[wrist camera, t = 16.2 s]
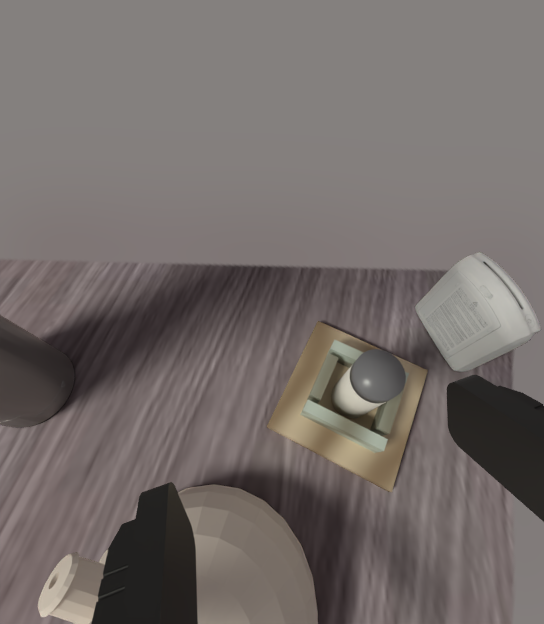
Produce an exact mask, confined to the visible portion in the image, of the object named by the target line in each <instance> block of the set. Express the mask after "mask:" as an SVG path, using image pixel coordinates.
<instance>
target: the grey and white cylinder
mask: <svg viewBox="0 0 544 624" xmlns="http://www.w3.org/2000/svg"><path fill="white" fill-rule="evenodd" d="M405 382H406V375H405V370H404V368H403V366H402V364H401V362H400V361H399V360H398V359H397V358H396V357H395V356H394V355H392V354H391V353H389V352H387V351H384V350H380V349H372V350H368V351H366V352H364V353H363V354H361V355H360V356H359V357H358V359H357V360H356V361H355V362H354V363H353V364H352V366H351V367H350V368H349V369H348V370H347V371H346V373H345V374H344V375H343V376H342V377H341V379H340V380H339V381H338V382H337V383H336V384H335V386H334V387H333V389H332V393H331V400H332V404H333V406H334V408H335V409H336V410H337V411H338V412H339V413H340V414H341V415H343V416H345V417H347V418H358V417H361V416H363V415H364V414H366V413H368V412H370V411H371V410H373V409H375V408H377V407H378V406H380V405H382V404H384V403H385V402H387V401H389V400H391V399H392V398H394V397H396V396H397V395H399V394H400V393H401V392H402V390H403V388H404V386H405Z"/></svg>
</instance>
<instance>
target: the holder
mask: <svg viewBox="0 0 544 624" xmlns="http://www.w3.org/2000/svg"><path fill="white" fill-rule="evenodd" d="M372 349H379V348H377V347H375V346H373V345H370V344H368V343H366V342H364V341H361V340H359V339H357V338H355V337H353V336H350V335H348V334H346V333H344V332H342V331H339V330H337V329H335V328H333V327H330V326H328V325H326V324H324V323H322V322H319V321H318V322H317V324H316V326H315V328H314V330H313V332H312V334H311V336H310V338H309V340H308V343H307V345H306V347H305V349H304V351H303V353H302V355H301V357H300V359H299V361H298V363H297V365H296V367H295V370H294V372H293V374H292V376H291V378H290V380H289V382H288V384H287V386H286V388H285V390H284V392H283V394H282V396H281V399H280V401H279V403H278V405H277V407H276V409H275V411H274V413H273V415H272V417H271V419H270V421H269V423H268V425H267V428H269V429H271V430H273V431H275V432H277V433H279V434H280V435H282V436H284V437H286V438H288V439H290V440H292V441H294V442H296V443H298V444H299V445H301V446H303V447H305V448H307V449H309V450H311V451H313V452H315V453H316V454H318V455H320V456H322V457H324V458H326V459H328V460H330V461H332V462H333V463H335V464H337V465H339V466H341V467H343V468H345V469H347V470H349V471H350V472H352V473H354V474H356V475H358V476H360V477H362V478H364V479H366V480H367V481H369V482H371V483H373V484H375V485H377V486H379V487H381V488H383V489H384V490H386V491H388V492H392V489H393V486H394V483H395V479H396V476H397V473H398V469H399V466H400V462H401V459H402V456H403V452H404V449H405V446H406V442H407V439H408V436H409V432H410V429H411V425H412V422H413V419H414V415H415V412H416V409H417V405H418V402H419V399H420V395H421V392H422V388H423V385H424V382H425V378H426V375H427V372H428V370H426V369H424V368H421V367H419V366H417V365H415V364H412V363H410V362H408V361H406V360H404V359H401V358H399V357H397V356H395V355H394V356H395V357H396V358H397V359H398V360H399V361H400V362H401V364H402V366H403V368H404V370H405V375H406V382H405V386H404V388H403V390H402V392H401V393H400V394H399V395H397V396H396V397H394V398H392V399H391V400H389V401H387V402H385V403H384V404H382V405H380V406H378V407H377V408H375V409H373V410H371V411H370V412H368V413H366V414H364V415H363V416H361V417H358V418H347V417H345V416H343V415H341V414H340V413H339V412H338V411H337V410H336V409H335V408H334V406H333V404H332V400H331V393H332V389H333V387H334V386H335V384H336V383H337V382H338V381H339V380H340V379H341V377H342V376H343V375H344V374H345V373H346V371H347V370H348V369H349V368H350V367H351V366H352V364H353V363H354V362H355V361H356V360H357V359H358V357H359V356H360V355H361V354H363V353H364V352H366V351H368V350H372ZM380 350H381V349H380ZM392 355H393V354H392Z"/></svg>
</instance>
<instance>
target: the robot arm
mask: <svg viewBox="0 0 544 624" xmlns="http://www.w3.org/2000/svg"><path fill="white" fill-rule="evenodd" d="M73 384H74V368H73V365H72V363H71V361H70V359H69V358H68V357H67V356H66V355H65V354H64V353H62V352H61V351H59V350H57V349H56V348H54V347H52V346H51V345H49V344H47V343H46V342H44V341H43V340H41V339H39V338H38V337H36V336H34V335H33V334H31V333H29V332H28V331H26V330H24V329H23V328H21V327H19V326H18V325H16V324H14V323H13V322H11V321H9V320H8V319H6V318H4V317H3V316H1V315H0V425H2V426H8V427H15V428H24V427H30V426H34V425H36V424H39V423H41V422H43V421H45V420H47V419H48V418H50V417H51V416H52V415H54V414H55V413H56V412H57V411H58V410H59V409H60V408H61V407H62V406H63V405H64V404H65V402H66V400H67V399H68V397H69V396H70V393H71V391H72V388H73ZM447 412H448V428H449V432H450V434H451V436H452V438H453V440H454V441H455V443H456V444H457V445H458V446H459V447H460V448H461V449H462V450H463V451H464V452H465V453H467V454H468V455H469V456H470V457H471V458H472V459H473V460H474V461H476V462H477V463H478V464H479V465H480V466H481V467H482V468H484V469H485V470H486V471H487V472H488V473H489V474H490V475H491V476H493V477H494V478H495V479H496V480H497V481H498V482H499V483H501V484H502V485H503V486H504V487H505V488H506V489H507V490H508V491H510V492H511V493H512V494H513V495H514V496H515V497H516V498H517V499H519V500H520V501H521V502H522V503H523V504H524V505H525V506H527V507H528V508H529V509H530V510H531V511H532V512H533V513H534V514H536V515H537V516H538V517H539V518H540V519H541V520H543V521H544V406H543V404H541V403H540V402H538V401H536V400H534V399H532V398H531V397H529V396H527V395H525V394H524V393H521V392H517V391H515V390H511V389H508V388H505V387H502V386H498V387H497V386H495V385H494V384H492V383H490V382H488V381H487V380H485V379H483V378H482V377H480V376H477V375H472V376H469V377H466V378H463V379H461V380H458V381H455V382H452V383H450V384H449V385H448V386H447ZM91 624H198V617H197V580H196V548H195V539H194V534H193V530H192V526H191V523H190V521H189V518H188V516H187V514H186V511H185V509H184V506H183V504H182V502H181V499H180V497H179V495H178V492H177V490H176V488H175V486H174V484H173V483H172V482H170V483H167V484H165V485H162V486H159V487H156V488H153V489H151V490H148V491H145V492H142V493H141V495H140V497H139V502H138V508H137V515H136V519H135V520H132V521H129V522H127V523H124V524H122V525H121V527H120V529H119V531H118V533H117V534H116V536H115V538H114V540H113V541H112V543H111V545H110V547H109V548H108V553H107V557H106V562H105V566H104V570H103V579H101V584H100V588H99V592H98V602H96V606H95V610H94V614H93V619H92V623H91Z"/></svg>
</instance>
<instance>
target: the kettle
mask: <svg viewBox="0 0 544 624" xmlns="http://www.w3.org/2000/svg"><path fill="white" fill-rule="evenodd" d="M178 495H179V497H180V499H181V502H182V504H183V506H184V509H185V511H186V514H187V516H188V518H189V521H190V523H191V526H192V530H193V534H194V539H195V548H196V580H197V617H198V624H318V611H317V604H316V596H315V589H314V582H313V576H312V573H311V571H310V568H309V565H308V562H307V560H306V557H305V554H304V551H303V548H302V546H301V544H300V542H299V541H298V539H297V538H296V536H295V535H294V533H293V532H292V530H291V529H290V527H289V525H288V524H287V522H286V521H285V519H284V518H283V517H281V516H280V515H279V514H278V513H277V512H276V511H275V510H274V509H273V508H272V507H270V506H269V505H268V504H267V503H266V502H265V501H264V500H262V499H260V498H258V497H256V496H254V495H252V494H250V493H248V492H246V491H244V490H242V489H240V488H234V487H228V486H221V485H215V484H213V485H206V486H198V487H191V488H187V489H184V490H182V491H180V492H178ZM107 553H108V550H107V551H106V552H105V553H104V554H103V556H102V558H101V560H100V561H99V562H95V561H92V560H89V559H86V558H82V557H79V554H78V553H77V552H75V553H72V554H69V555H67V556H65V557H64V558H63V559H62V560H61V561H60V562H59V563H58V565H57V566H56V567H55V569H54V570H53V572H52V573H51V575H50V576H49V578H48V580H47V582H46V584H45V586H44V588H43V590H42V593H41V595H40V598H39V603H38V609H39V612H40V615H41V617H46V616H48V615H52V616H55V617H58V618H61V619H64V620H67V621H70V622H73V623H74V624H91V623H92V619H93V614H94V610H95V606H96V602H98V592H99V588H100V584H101V579H103V570H104V566H105V562H106V557H107Z"/></svg>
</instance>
